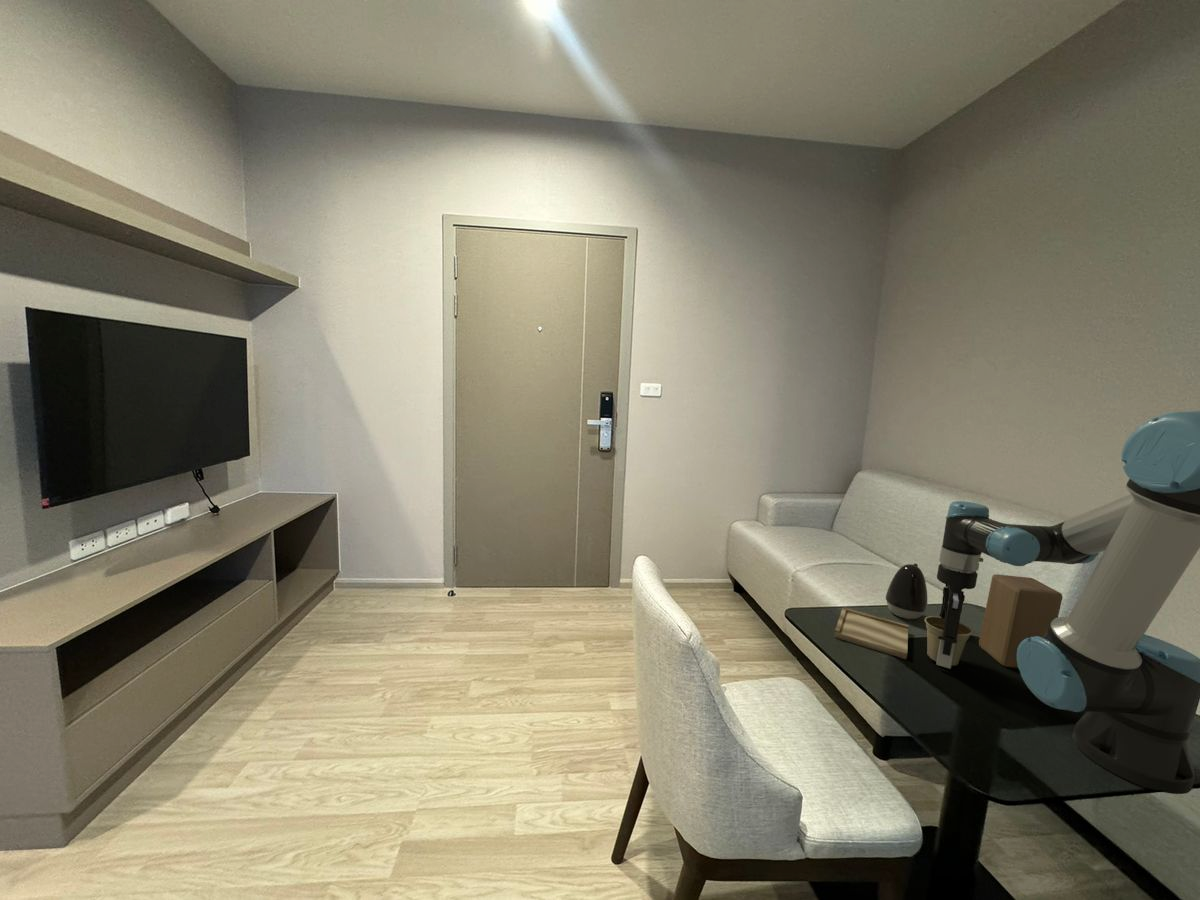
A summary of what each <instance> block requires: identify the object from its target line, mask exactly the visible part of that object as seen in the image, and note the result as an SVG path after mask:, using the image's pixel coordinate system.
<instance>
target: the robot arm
mask: <svg viewBox="0 0 1200 900" xmlns="http://www.w3.org/2000/svg"><path fill="white" fill-rule="evenodd" d="M1121 462H1124V464H1125V465H1123V466H1122V469H1123V470H1124V473H1125V475H1126V476H1127V477H1128V478H1129V479H1128V481H1127V483H1126V484H1125V488H1126V490H1127V491H1128V492H1129V494H1128V495H1125V496H1123V497H1120V498H1118V499H1115V500H1114V501H1111V502H1108V503H1107V504H1104V505H1101V506H1098V507H1096V508H1094V509H1092V510H1089V511H1086V512H1084V513H1082V514H1079V515H1077V516H1075V517H1071V518H1070V519H1067V520H1064V521H1063V522H1060V523H1057V524H1054V525H1050V526H1049V525H1048V526H1047V525H1029V524H1028V525H1026V524H1016V523H1015V524H1014V523H1013V524H1011V523H1004V522H1000V521H997V520H995V519H992V518H990V510H989V508H988V506H986V505H984V504H980V503H976V502H970V501H965V500H964V501H963V500H956V501H952V502H951V503H950V504H949V507H948V511H947V515H946V516H945V525H944V533H943V539H942V545H941V548H940V554H939V559H938V561H939V563H940V564H939V565H938V568H937V574H936V579H937V580H938V581H939V582H940V583H942V584H944V585H945V586H944V587H943V589H942V601H941V602H942V604H941V607H940V613H939V616H938V617H941V618H944V626H943V634H942V637H941V636H938V639H941V640H940V645H939V651H938V657H937V662H936V665H937V666H940V667H943V668H947V669H951V668H952V665H951V663H952V658H953V652H954V646H955V644H956V643H957V635H958V628H959V623H961V621H960V620H961V613H962V611H963V605H964V602H965V598H966V596H965V592H964V591H963V590H972V589H973V590H974V589H975V588H976V586H977V581H978V575H979V574H978V573H977V571H979V568H980V563H984V557H982V554H985V555H987V556H989V557H991V558H993V559H995V560H996V561H999V562H1001V563H1004V564H1008V565H1010V566H1014V567H1025V566H1027V565H1028V564H1032V563H1033V562H1041V563H1042V562H1043V563H1053V564H1054V563H1055V564H1056V563H1057V564H1066V565H1075V564H1088V563H1092V562H1094V560H1095V559H1096V557H1098V555H1099V553H1101V552H1103V551H1104V552H1103V554H1102V555H1101V557H1100V559H1099V561H1098V563H1097V565H1096V566H1095V568H1094V569H1093V572H1092V573H1091V574H1090V575H1091V576H1090V577H1089V579H1088V580H1087V583H1086V584H1085V585H1084V588H1083V590H1082V591H1081V593H1080V594H1079V596H1078V598H1077V600H1076V602H1075V604H1074V605H1073V607H1072V609H1071V610H1070V613H1069V615H1068V616H1058V618H1055V619H1054V620H1053V621H1052V622H1051V624H1050V626H1049V627H1048V629H1047V631H1046V633H1045V635H1044V636H1043V637H1038V636H1035V637H1030V638H1026V639H1024V640H1023V641H1022V642H1021V643H1020V645H1019V646H1018V649H1017V664H1018V668H1017V669H1018V670H1019V673H1020V676H1021V678H1022V680H1023V682H1024V684H1025V685H1026V687H1027V688H1028V689H1029V690H1030V692H1031V693H1032V694H1033V695H1034V696H1035V697H1036V698H1037V699H1038V700H1039V701H1040V702H1042V703H1044V704H1045V705H1047V706H1049V707H1051V708H1054V709H1057V710H1064V711H1070V712H1074V713H1081V712H1084V714H1083V715H1082V716H1081V718H1079V720H1077V722H1076V723H1075V725H1074V728H1073V731H1072V736H1071V737H1072V741H1073V743H1074V745H1075V746H1076V748H1078V749H1079V750H1080V752H1082V753H1083V755H1085V756H1086V757H1087V758H1089V759H1090V760H1091V761H1092V762H1094V763H1095V764H1098V765H1099V766H1100V767H1102V768H1103V769H1105V770H1107V771H1109V772H1111V773H1112V774H1114V775H1116V776H1118V777H1121V778H1122V779H1124V780H1127V781H1129V782H1132V783H1134V784H1137V785H1139V786H1141V787H1144V788H1147V789H1151V790H1153V791H1157V790H1164V791H1160V792H1161V793H1166V794H1172V795H1184V794H1188V793H1190V792H1191V791H1192V789H1193V786H1194V781H1195V775H1196V774H1195V769H1194V764H1193V760H1192V756H1191V752H1190V751H1191V750H1190V746H1189V738H1190V734H1191V731H1192V727H1193V724H1194V721H1195V717H1196V713H1197V710H1198V707H1199V704H1200V657H1198V656H1197V655H1196V654H1194V653H1191V652H1190V651H1188V650H1186V649H1184V648H1181V647H1179V646H1177V645H1175V644H1172V643H1170V642H1168V641H1165V640H1162V639H1160V638H1157V637H1153V636H1151V635H1148V634H1146V632H1147V631H1148V629H1149V627H1150V626H1151V624H1152V623H1153V621H1154V619H1155V618H1156V617H1157V614H1158V613H1159V611H1160V610H1161V609H1162V608H1163V605H1164V604H1165V602H1166V601H1167V599H1168V598H1169V596H1170V595H1171V593H1172V591H1173V590H1174V588H1175V587H1176V585H1177V584H1178V582H1179V581H1180V579H1181V577H1182V576H1183V575H1184V573H1185V572H1186V570H1187V568H1188V567H1189V565H1190V563H1191V562H1192V560H1193V559H1194V558H1195V556H1196V554H1197V553H1198V551H1199V550H1200V410H1197V411H1195V410H1194V411H1178V412H1177V411H1175V412H1170V413H1169V412H1168V413H1165V414H1161V415H1160V416H1157V417H1153V418H1151V419H1149V420H1147V421H1145V422H1144V423H1142V424H1141V425H1139V426H1138V427H1137V428H1135V429H1134V430H1133V431H1132V433H1131V434H1130V435H1129V436H1128V438H1127V439H1126V441H1125V443H1124V444H1123V447H1122V451H1121Z"/></svg>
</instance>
